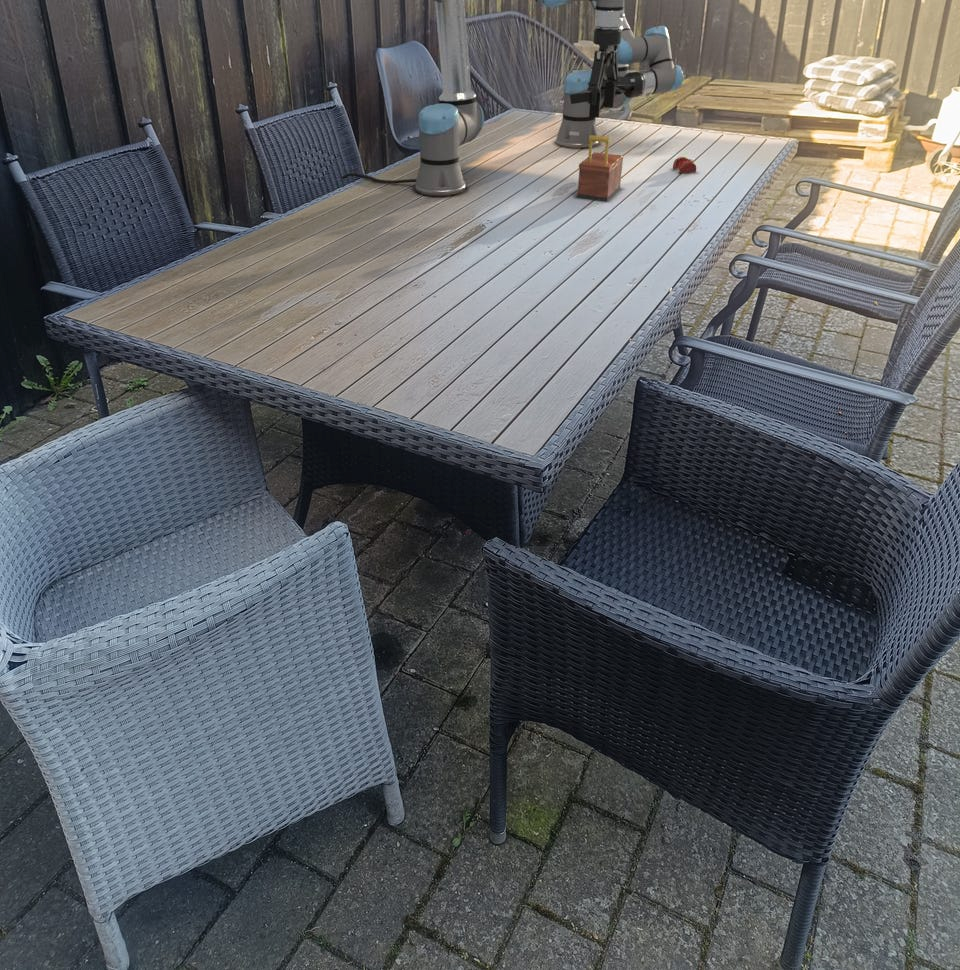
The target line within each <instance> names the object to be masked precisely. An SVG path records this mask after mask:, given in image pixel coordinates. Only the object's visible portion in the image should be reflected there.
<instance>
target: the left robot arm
mask: <svg viewBox="0 0 960 970" xmlns="http://www.w3.org/2000/svg"><path fill="white" fill-rule="evenodd" d="M529 1H531V2H536V3H540V4H542V5H544V6H546V7H547V8H558V7H559V8H560V7H563V5H567V4H570V3H573V2H590V1H596V7H595V11H594V21H593V26H595V28H594V29H593V39H592V42H593V44H594V45H598V46H599V48H598V50H595V51H594V56H593V63H592V66H591V67H592V68H591V70H592V72H591V77H590V83H589V87H588V91H590V92H591V97H590V111H589V117H595V119H596V118H597V119H599V118H600V112H601V110H600V101H601V92H600V89H601V85H602V81H603V78H604V74H605V72H606V78H607V82H606V85H605V97H604V107H608V108H609V109H614V108H613V107H614V95H615V83H614V82H619V78H618V56H617V50H618V45H619V44H620V43H621V36H622V30H621V28H620V27H621V26H622V22H623V18H626V14H625V13H624V14H623V10H624V11H625V0H529ZM433 2H434V10H435V11H434V12H435V22H436V33H437V41H438V53H439V62H440V75H441V85H442V86H441V87H442V93H441V94H440V95H439V97H438V103H435V104H429V105H427V106H425V107H423V108H422V109H421V110H420V112H419V113H418V122H417V123H418V136H419V138H418V139H419V157H420V158H419V159H420V161H419V162H420V164H419V168H418V172H417V176H416V178H408V179H397V180H396V179H395V180H391V179H379V178H376V177H374V176H371V175H366V174H361V173H358V172H348V173H345V174H344V175H343V176H341V180H345V179H346V178H348V177H358V178H362V179H368V180H371V181H373V182H375V183H381V184H406V183H414V184H415V185H414V186H415V192H417V193H418V194H420V195H424V196H430V197H450V196H455V195H459V194H461V193H463V192H464V191H466V181H465V179H464V176H463V173H464V172H463V170H462V169H461V165H460V147H461V146H463V145H465V144H467V143H469V142H472V141H473V140H475V139H476V138H477V137H478V136H479V135H480V134H481V132H482V130H483V128H484V124H485V113H484V111H483V108H482V107H481V106H480V103H478V98H477V97H478V96H477V94H476V92H474V91H473V90H472V83H471V68H470V56H469V45H468V31H467V18H466V5H465V4H466V2H465V0H433Z"/></svg>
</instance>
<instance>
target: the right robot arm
mask: <svg viewBox="0 0 960 970" xmlns="http://www.w3.org/2000/svg"><path fill="white" fill-rule="evenodd" d="M589 3H590V5H591V7H592V9H593V11H594V12H595V7H596V1H589ZM623 14H625V9H624V10H623ZM620 28H621V30H622V36H621V43H620V44H619V45H618V50H617V56H618V78H619V82H614V83H615V95H614V107H613V108H612V109H618V108H621V107H625V106H627V105H628V104H629V103H630V102H631V101H632V99H633V98H638V97H643V96H645V97H646V98H648V97H650V95H656V94H664V93H669V92H673V91H677V90H679V89H680V88H681V87H682V85H683V82H684V72H683V70H682V67H681V66H680V65H677V64H674V61H673V56H672V47H671V39H670V34H669V30H668V28H667V27H666V26H665V25H658V26H653V27H651V28H648V29H647V30H646V31H645V32H644V34H643V35H640V36H638V35H637V36H635V34H634V32H633V30H632V29H631V27H630V25H629V22H628V20H627V18H626V17H625V18H623V22H622V26H621V27H620ZM646 62H647V63H648V67H649V69H643V70H637V71H630V70H629V69H630V68H629V67H630V66H629V65H630V64H635V63H636V64H637V63H646ZM591 72H592V69H580V70H574V71H572V72H570V73H568V74H567V75H566V77H565V78H564V86H563V103H562V120H561V123H560V126H559V129H558V132H557V135H556V140H555V143H556V144H557V145H558V146H561V147H564V148H571V149H589V143H590V141H589V136H590V135H593V136H599V132H598V127H597V123H596V117H589V111H590V97H591V92H590V91H588V87H589V83H590V77H591ZM606 82H607V78H606V72H605V74H604V78H603V81H602V85H601V89H600V92H601V101H600V111H601V110H607V109H608V110H609V109H610V108H608V107H604V97H605V85H606ZM599 143H600V142H595V141H592V148H593V147H596V146H598V145H599Z"/></svg>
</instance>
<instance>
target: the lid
mask: <svg viewBox="0 0 960 970" xmlns="http://www.w3.org/2000/svg"><path fill="white" fill-rule="evenodd" d="M589 141H590V143H589V148H588V156H587V157H586V158H585V159H583V160H582V161H581V162H580V163H578V169H579V168H584V169H592V170H601V171H610V170H611V169H612V168H613V167H615V166H616V165H617V164H618V163H619V162H620V161H621V160H624V155H620V154H614V153H613V154H612V153H609V144H610V141H611V137H610V136H603V135H598V136H593V135H590V136H589ZM592 141H595V142H599V143H605V149H604V153H603V152H593V147H592ZM592 152H593V153H592Z"/></svg>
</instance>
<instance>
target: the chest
mask: <svg viewBox="0 0 960 970" xmlns="http://www.w3.org/2000/svg"><path fill="white" fill-rule="evenodd" d="M623 160H624V159H623ZM623 160H621V161H620V162H619V163H618V164H617V165H616V166H615V167H613V168H612V169H611V170H610V171H601V170H592V169H584V168H579V167H578V183H577V198H578V199H586V200H593V201H600V202H608V201H609V200H610V199H611V198H612V197H613V196H614V195H615V194H617V192H619V190H621V183H622V171H623V163H624V162H623Z"/></svg>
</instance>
